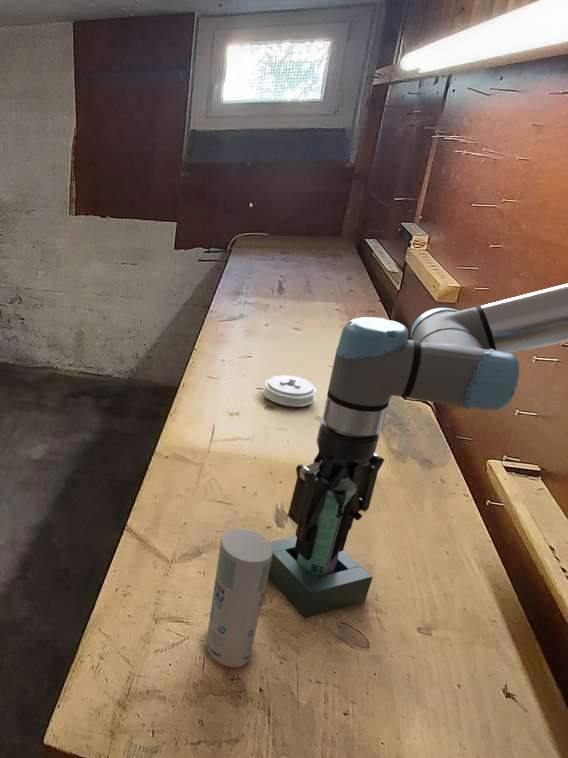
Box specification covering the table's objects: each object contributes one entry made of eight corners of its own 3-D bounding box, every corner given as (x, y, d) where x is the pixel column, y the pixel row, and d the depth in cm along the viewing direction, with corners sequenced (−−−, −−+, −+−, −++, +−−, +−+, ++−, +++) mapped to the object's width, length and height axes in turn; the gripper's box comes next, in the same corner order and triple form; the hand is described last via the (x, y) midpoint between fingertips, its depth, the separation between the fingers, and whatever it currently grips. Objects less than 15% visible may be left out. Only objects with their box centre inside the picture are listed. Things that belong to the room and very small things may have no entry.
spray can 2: (340, 577, 90) (370, 474, 81) (309, 582, 89) (335, 479, 80) (319, 553, 95) (344, 454, 86) (289, 558, 94) (312, 458, 85)
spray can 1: (255, 671, 80) (278, 565, 71) (207, 665, 81) (224, 560, 72) (247, 633, 85) (267, 530, 76) (203, 628, 86) (218, 526, 78)
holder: (364, 602, 90) (373, 576, 87) (304, 619, 87) (310, 593, 85) (314, 553, 100) (320, 529, 97) (258, 567, 97) (263, 543, 95)
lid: (304, 388, 157) (307, 372, 155) (320, 409, 146) (324, 392, 143) (257, 387, 158) (260, 371, 156) (270, 409, 147) (273, 392, 145)
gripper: (382, 403, 85) (348, 523, 95) (277, 423, 81) (254, 546, 91) (425, 427, 79) (384, 553, 89) (313, 450, 75) (284, 579, 85)
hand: (318, 549), depth 90 cm, fingers closed on spray can 2, 5 cm apart
